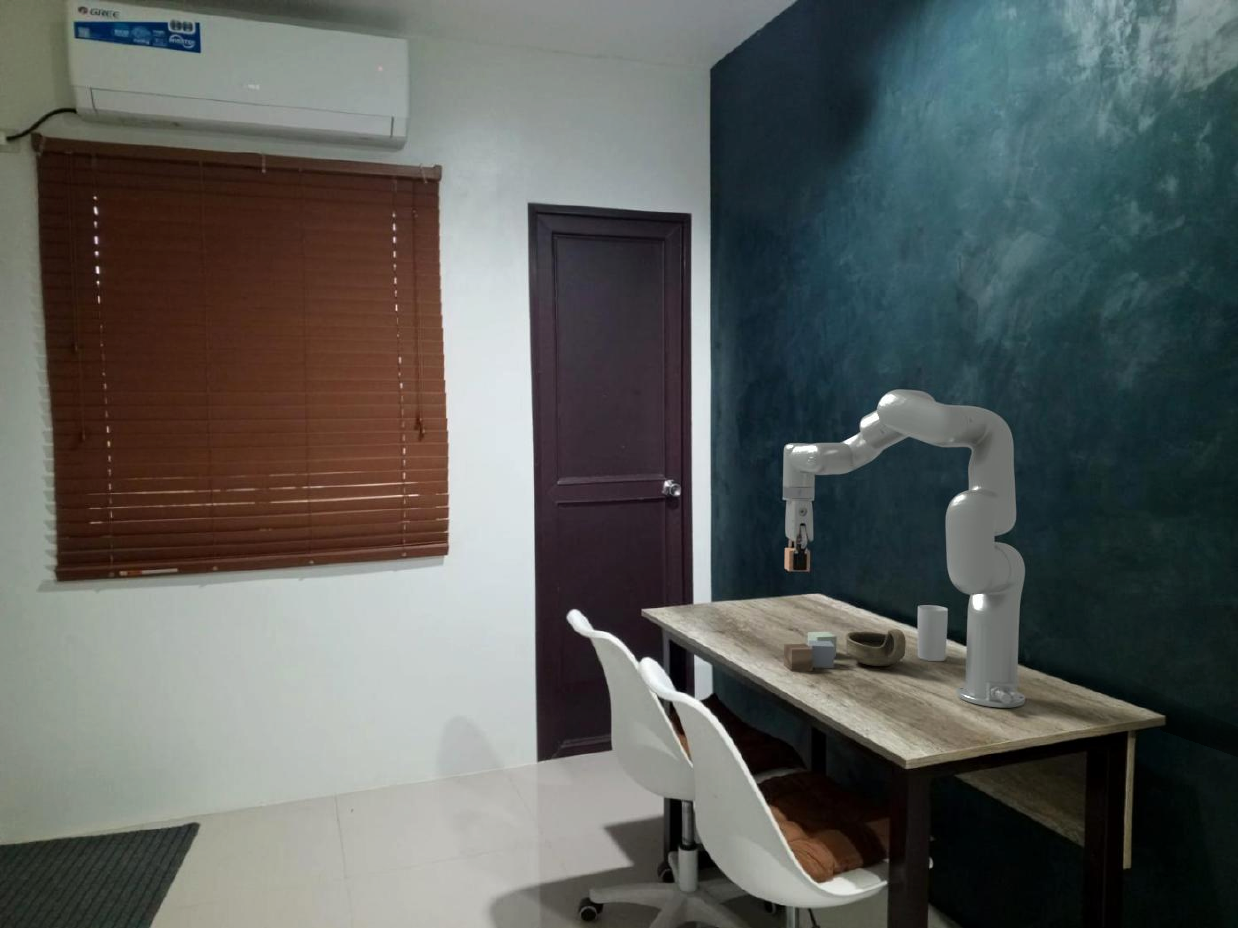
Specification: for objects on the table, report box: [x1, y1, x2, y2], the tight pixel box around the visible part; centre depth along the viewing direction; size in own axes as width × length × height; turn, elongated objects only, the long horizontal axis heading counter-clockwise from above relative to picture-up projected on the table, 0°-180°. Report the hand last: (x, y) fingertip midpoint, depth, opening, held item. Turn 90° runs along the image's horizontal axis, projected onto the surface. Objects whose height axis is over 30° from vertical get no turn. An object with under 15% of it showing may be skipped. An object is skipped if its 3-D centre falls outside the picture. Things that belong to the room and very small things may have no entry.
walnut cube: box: [783, 643, 814, 672], centre depth 196 cm, size 5×5×5 cm
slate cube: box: [809, 640, 835, 669], centre depth 199 cm, size 5×5×5 cm
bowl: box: [845, 628, 907, 667], centre depth 198 cm, size 14×18×10 cm
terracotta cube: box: [784, 547, 811, 572], centre depth 211 cm, size 5×5×5 cm
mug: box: [917, 604, 949, 662], centre depth 207 cm, size 10×7×12 cm, turn 7°
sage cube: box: [807, 631, 837, 658], centre depth 208 cm, size 5×5×5 cm
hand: (797, 567), depth 211 cm, fingers closed on terracotta cube, 5 cm apart
